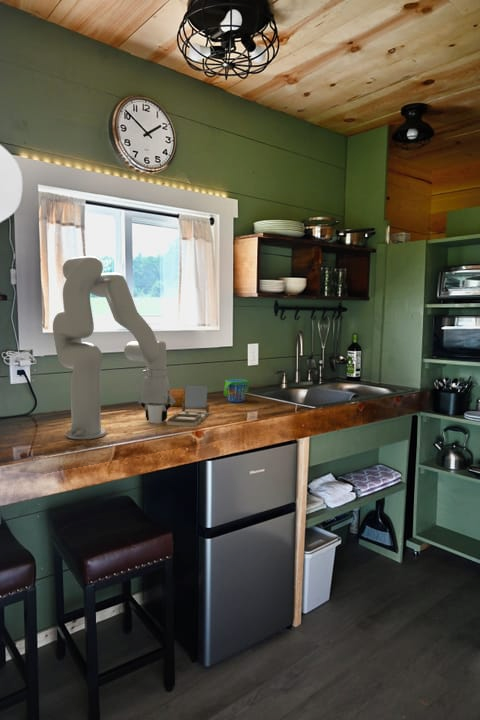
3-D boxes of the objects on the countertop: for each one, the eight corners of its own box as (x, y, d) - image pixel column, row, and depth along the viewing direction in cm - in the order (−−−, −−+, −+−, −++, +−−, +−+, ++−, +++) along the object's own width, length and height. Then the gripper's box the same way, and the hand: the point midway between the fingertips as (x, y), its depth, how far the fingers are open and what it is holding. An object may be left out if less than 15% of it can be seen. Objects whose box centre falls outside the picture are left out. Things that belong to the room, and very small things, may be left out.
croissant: (177, 404, 237) (175, 388, 237) (201, 403, 228) (200, 386, 228) (155, 408, 226) (153, 390, 226) (180, 407, 216) (178, 389, 216)
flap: (206, 386, 204) (207, 386, 205) (185, 385, 205) (186, 385, 206) (205, 409, 203) (206, 409, 204) (184, 408, 205) (185, 408, 206)
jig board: (195, 426, 184) (195, 415, 183) (166, 424, 186) (166, 414, 185) (209, 414, 205) (209, 404, 205) (183, 412, 207) (183, 403, 207)
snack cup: (240, 398, 244) (240, 377, 243) (255, 401, 236) (255, 379, 235) (216, 401, 233) (216, 380, 232) (231, 405, 225) (232, 383, 224)
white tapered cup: (169, 421, 191) (169, 403, 190) (154, 424, 186) (154, 406, 185) (158, 418, 195) (158, 401, 195) (143, 421, 190) (143, 403, 190)
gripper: (131, 373, 186) (131, 421, 188) (174, 375, 183) (174, 423, 185) (138, 371, 194) (138, 417, 196) (180, 373, 191) (180, 419, 193)
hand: (156, 419), depth 190 cm, fingers closed on white tapered cup, 5 cm apart
